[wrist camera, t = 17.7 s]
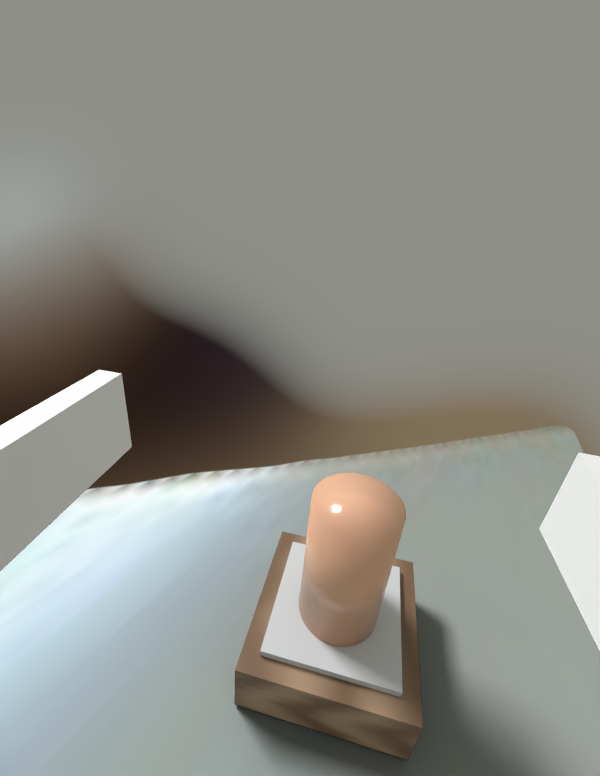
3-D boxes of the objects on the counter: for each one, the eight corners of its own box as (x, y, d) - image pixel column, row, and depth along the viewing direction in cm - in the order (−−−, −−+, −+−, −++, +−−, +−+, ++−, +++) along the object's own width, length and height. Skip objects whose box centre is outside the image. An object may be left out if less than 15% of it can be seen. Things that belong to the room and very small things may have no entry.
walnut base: (234, 704, 31) (235, 666, 28) (279, 562, 43) (282, 527, 40) (407, 760, 28) (424, 723, 26) (402, 593, 41) (414, 558, 38)
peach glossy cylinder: (290, 633, 31) (302, 527, 25) (307, 562, 37) (320, 465, 31) (375, 657, 29) (407, 552, 24) (378, 580, 36) (404, 483, 30)
